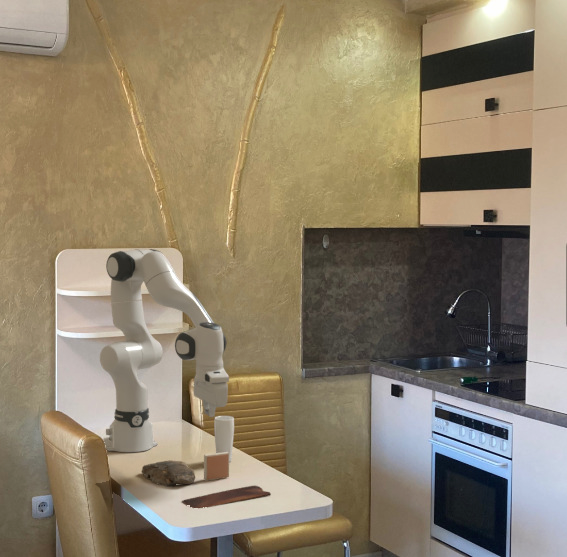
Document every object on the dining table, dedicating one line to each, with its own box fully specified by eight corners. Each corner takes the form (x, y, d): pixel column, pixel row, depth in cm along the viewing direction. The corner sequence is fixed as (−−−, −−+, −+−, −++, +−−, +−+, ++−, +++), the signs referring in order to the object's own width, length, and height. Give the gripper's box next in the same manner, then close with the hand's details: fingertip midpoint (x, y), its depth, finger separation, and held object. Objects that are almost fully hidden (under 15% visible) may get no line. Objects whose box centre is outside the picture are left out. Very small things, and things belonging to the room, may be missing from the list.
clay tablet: (204, 485, 272) (180, 468, 290) (204, 470, 272) (179, 453, 289) (162, 493, 266) (139, 474, 283) (162, 477, 265) (139, 460, 282)
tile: (203, 479, 278) (204, 454, 277) (226, 476, 281) (227, 451, 281) (206, 481, 276) (206, 456, 275) (229, 477, 280) (229, 453, 279)
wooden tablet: (193, 506, 248) (178, 493, 257) (193, 514, 249) (178, 500, 257) (273, 492, 262) (256, 480, 271) (272, 499, 263) (256, 487, 271)
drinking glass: (212, 459, 301) (212, 416, 300) (231, 457, 303) (231, 415, 302) (216, 464, 294) (216, 420, 293) (236, 463, 296) (236, 419, 295)
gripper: (188, 368, 290) (188, 409, 291) (212, 379, 271) (212, 422, 272) (206, 367, 292) (206, 408, 293) (231, 377, 274) (231, 421, 275)
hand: (209, 415), depth 283 cm, fingers closed
